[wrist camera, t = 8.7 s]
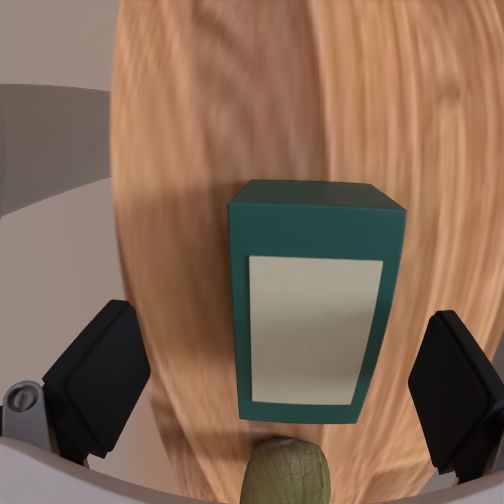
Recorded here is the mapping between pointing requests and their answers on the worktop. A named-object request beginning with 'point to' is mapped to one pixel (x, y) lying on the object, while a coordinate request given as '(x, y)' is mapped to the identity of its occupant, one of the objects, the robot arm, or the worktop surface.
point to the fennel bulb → (286, 474)
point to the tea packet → (310, 296)
